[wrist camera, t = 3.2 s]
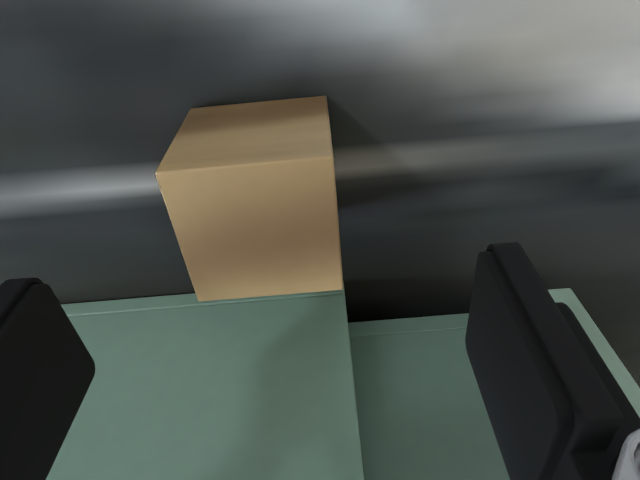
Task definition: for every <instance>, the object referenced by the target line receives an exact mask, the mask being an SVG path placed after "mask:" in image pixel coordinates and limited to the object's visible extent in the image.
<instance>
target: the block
mask: <svg viewBox="0 0 640 480" xmlns="http://www.w3.org/2000/svg"><path fill="white" fill-rule="evenodd" d="M155 175H156V178H157V181H158V184H159V187H160V190H161V193H162V196H163V199H164V202H165V205H166V208H167V211H168V214H169V216H170V219H171V222H172V225H173V228H174V231H175V234H176V237H177V240H178V243H179V246H180V249H181V252H182V255H183V258H184V261H185V263H186V266H187V269H188V272H189V275H190V278H191V281H192V284H193V287H194V290H195V293H196V296H197V299H198V301H200V302H201V301H213V300H225V299H237V298H249V297H261V296H273V295H285V294H297V293H310V292H322V291H334V290H342V289H343V274H342V261H341V248H340V234H339V221H338V208H337V194H336V181H335V168H334V156H333V147H332V138H331V130H330V121H329V112H328V104H327V97H326V96H315V97H305V98H294V99H284V100H273V101H263V102H252V103H242V104H231V105H221V106H210V107H200V108H191V109H190V111H189V112H188V114H187V116H186V118H185V120H184V121H183V123H182V125H181V127H180V129H179V130H178V132H177V134H176V136H175V138H174V139H173V141H172V143H171V145H170V147H169V148H168V150H167V152H166V154H165V156H164V157H163V159H162V161H161V163H160V165H159V166H158V168H157V170H156V172H155Z"/></svg>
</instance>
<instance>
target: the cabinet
mask: <svg viewBox="0 0 640 480" xmlns="http://www.w3.org/2000/svg"><path fill="white" fill-rule="evenodd" d="M61 306H62V308H63V309H64V311H65V313H66V315H67V316H68V318H69V320H70V321H71V323H72V325H73V326H74V328H75V330H76V331H77V333H78V335H79V336H80V338H81V340H82V342H83V343H84V345H85V347H86V348H87V350H88V352H89V353H90V355H91V357H92V358H93V360H94V363H95V375H94V378H93V380H92V382H91V384H90V386H89V388H88V391H87V393H86V395H85V397H84V399H83V401H82V403H81V406H80V408H79V410H78V412H77V414H76V416H75V418H74V421H73V423H72V425H71V427H70V429H69V431H68V433H67V435H66V438H65V440H64V442H63V444H62V446H61V448H60V450H59V453H58V455H57V457H56V459H55V461H54V463H53V465H52V468H51V470H50V472H49V474H48V476H47V478H46V480H364V474H363V465H362V455H361V445H360V436H359V426H358V416H357V407H356V397H355V387H354V378H353V368H352V359H351V349H350V339H349V330H348V320H347V310H346V301H345V291H344V283H343V289H342V290H334V291H322V292H310V293H297V294H285V295H273V296H261V297H249V298H237V299H225V300H213V301H201V302H200V301H198V299H197V296H196V293H192V294H180V295H168V296H156V297H144V298H132V299H120V300H108V301H95V302H83V303H71V304H61Z"/></svg>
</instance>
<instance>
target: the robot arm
mask: <svg viewBox="0 0 640 480" xmlns="http://www.w3.org/2000/svg"><path fill="white" fill-rule="evenodd" d="M465 344H466V351H467V354H468V357H469V360H470V363H471V366H472V369H473V372H474V375H475V378H476V381H477V384H478V387H479V390H480V393H481V396H482V399H483V402H484V405H485V407H486V410H487V413H488V416H489V419H490V422H491V425H492V428H493V431H494V434H495V437H496V440H497V443H498V446H499V449H500V452H501V455H502V458H503V461H504V463H505V466H506V469H507V472H508V475H509V478H510V480H640V417H639V416H638V414H637V413H636V411H635V409H634V408H633V406H632V405H631V403H630V402H629V400H628V398H627V397H626V395H625V394H624V392H623V391H622V389H621V387H620V386H619V384H618V383H617V381H616V379H615V378H614V376H613V375H612V373H611V372H610V370H609V368H608V367H607V365H606V364H605V362H604V361H603V359H602V357H601V356H600V354H599V353H598V351H597V349H596V348H595V346H594V345H593V343H592V342H591V340H590V338H589V337H588V335H587V334H586V332H585V330H584V329H583V327H582V326H581V324H580V323H579V321H578V319H577V318H576V316H575V315H574V313H573V312H572V310H571V309H570V308H569V307H568V305H566V304H565V303H563V302H556V303H555V301H554V300H553V298H552V296H551V295H550V293H549V291H548V290H547V288H546V287H545V285H544V283H543V282H542V280H541V278H540V277H539V275H538V273H537V272H536V270H535V268H534V267H533V265H532V263H531V262H530V260H529V258H528V257H527V255H526V253H525V252H524V250H523V248H522V247H521V245H520V244H519V243H517V242H514V243H500V244H490V245H488V247H487V249H486V251H485V252H479V254H478V258H477V264H476V271H475V277H474V284H473V290H472V297H471V303H470V310H469V316H468V323H467V329H466V336H465ZM94 375H95V363H94V360H93V358H92V357H91V355H90V353H89V352H88V350H87V348H86V347H85V345H84V343H83V342H82V340H81V338H80V336H79V335H78V333H77V331H76V330H75V328H74V326H73V325H72V323H71V321H70V320H69V318H68V316H67V315H66V313H65V311H64V309H63V308H62V306H61V304H60V303H59V301H58V299H57V298H56V296H55V294H54V293H53V291H52V289H51V288H50V286H49V285H47V284H44V283H43V282H42V281H41V280H40V279H38V278H22V279H9V280H7V281H5V282H4V283H2V284H1V286H0V480H46V478H47V476H48V474H49V472H50V470H51V468H52V465H53V463H54V461H55V459H56V457H57V455H58V453H59V450H60V448H61V446H62V444H63V442H64V440H65V438H66V435H67V433H68V431H69V429H70V427H71V425H72V423H73V421H74V418H75V416H76V414H77V412H78V410H79V408H80V406H81V403H82V401H83V399H84V397H85V395H86V393H87V391H88V388H89V386H90V384H91V382H92V380H93V378H94Z"/></svg>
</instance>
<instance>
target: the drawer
mask: <svg viewBox="0 0 640 480" xmlns="http://www.w3.org/2000/svg"><path fill="white" fill-rule="evenodd" d="M548 291H549V293H550V295H551V296H552V298H553V300H554V301H555V303H556V302H563V303H565V304H566V305H568V307H569V308H570V309H571V310H572V312H573V313H574V315H575V316H576V318H577V319H578V321H579V323H580V324H581V326H582V327H583V329H584V330H585V332H586V334H587V335H588V337H589V338H590V340H591V342H592V343H593V345H594V346H595V348H596V349H597V351H598V353H599V354H600V356H601V357H602V359H603V361H604V362H605V364H606V365H607V367H608V368H609V370H610V372H611V373H612V375H613V376H614V378H615V379H616V381H617V383H618V384H619V386H620V387H621V389H622V391H623V392H624V394H625V395H626V397H627V398H628V400H629V402H630V403H631V405H632V406H633V408H634V409H635V411H636V413H637V414H638V416H639V417H640V388H639V386H638V385H637V384H636V382H635V381H634V379H633V378H632V376H631V375H630V373H629V372H628V371H627V369H626V368H625V366H624V365H623V363H622V362H621V360H620V359H619V358H618V356H617V355H616V353H615V352H614V350H613V349H612V347H611V346H610V345H609V343H608V342H607V340H606V339H605V337H604V336H603V334H602V333H601V331H600V330H599V329H598V327H597V326H596V324H595V323H594V321H593V320H592V318H591V317H590V316H589V314H588V313H587V311H586V310H585V308H584V307H583V305H582V304H581V303H580V301H579V300H578V298H577V297H576V295H575V294H574V292H573V291H572V290H571V289H570V288H562V289H550V290H548ZM468 316H469V313H464V314H451V315H439V316H427V317H414V318H402V319H389V320H377V321H364V322H352V323H348V330H349V339H350V349H351V359H352V368H353V378H354V387H355V397H356V407H357V416H358V426H359V436H360V445H361V455H362V465H363V474H364V480H510V478H509V475H508V472H507V469H506V466H505V463H504V461H503V458H502V455H501V452H500V449H499V446H498V443H497V440H496V437H495V434H494V431H493V428H492V425H491V422H490V419H489V416H488V413H487V410H486V407H485V405H484V402H483V399H482V396H481V393H480V390H479V387H478V384H477V381H476V378H475V375H474V372H473V369H472V366H471V363H470V360H469V357H468V354H467V351H466V344H465V336H466V329H467V323H468Z"/></svg>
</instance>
